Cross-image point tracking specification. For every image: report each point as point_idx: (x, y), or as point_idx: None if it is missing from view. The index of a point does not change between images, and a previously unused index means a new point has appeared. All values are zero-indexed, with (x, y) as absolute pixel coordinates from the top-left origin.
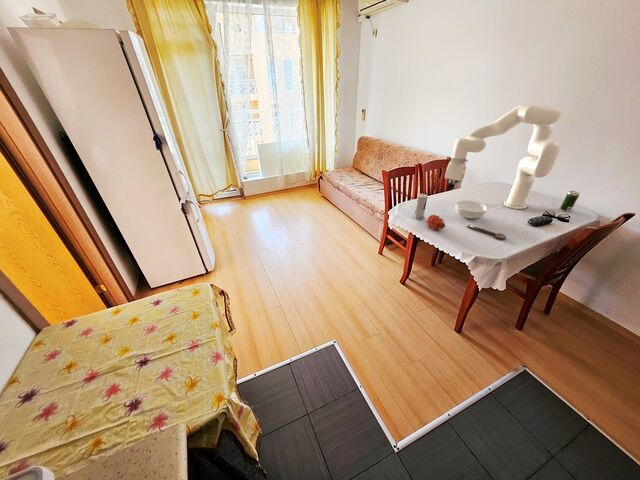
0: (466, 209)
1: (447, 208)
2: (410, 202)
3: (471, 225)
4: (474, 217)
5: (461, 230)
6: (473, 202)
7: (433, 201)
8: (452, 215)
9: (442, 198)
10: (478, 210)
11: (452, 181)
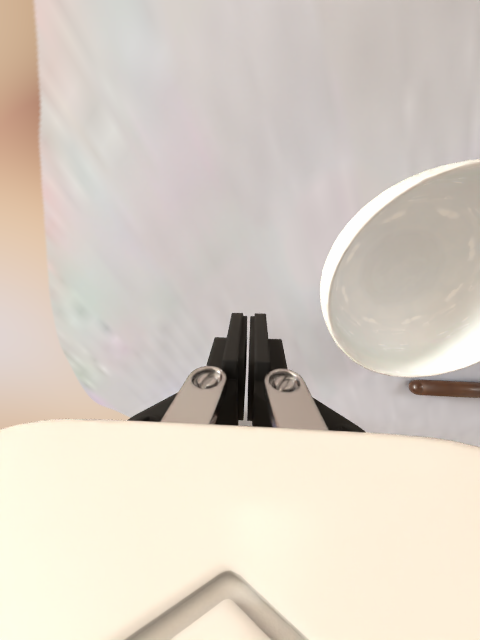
0: (380, 221)
1: (253, 246)
2: (60, 309)
3: (430, 393)
4: (447, 331)
5: (386, 415)
6: (460, 172)
7: (123, 194)
8: (313, 317)
9: (122, 57)
10: (477, 200)
11: (224, 389)
